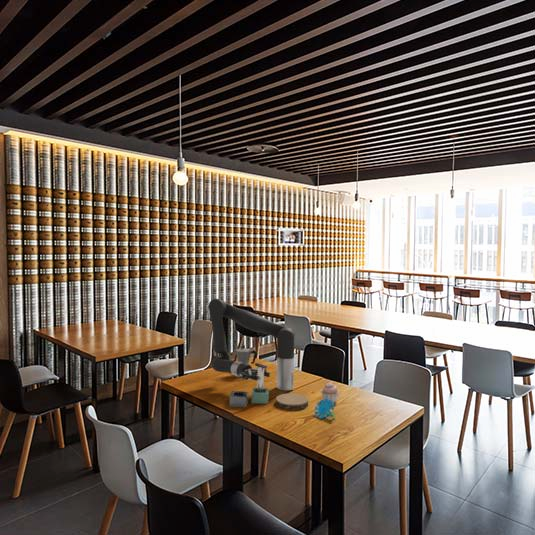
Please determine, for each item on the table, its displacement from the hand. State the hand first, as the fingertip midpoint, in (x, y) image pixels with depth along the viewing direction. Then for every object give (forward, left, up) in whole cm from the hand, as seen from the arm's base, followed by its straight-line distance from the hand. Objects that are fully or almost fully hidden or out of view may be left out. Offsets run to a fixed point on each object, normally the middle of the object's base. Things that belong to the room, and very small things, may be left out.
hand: (263, 376), depth 206 cm
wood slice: (-15, +2, -13) cm, 20 cm away
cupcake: (-34, -4, -13) cm, 36 cm away
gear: (-30, +16, -13) cm, 36 cm away
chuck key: (+1, -1, -12) cm, 13 cm away
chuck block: (+11, +5, -12) cm, 18 cm away
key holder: (+1, -1, -12) cm, 13 cm away
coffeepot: (+14, -44, -13) cm, 48 cm away
